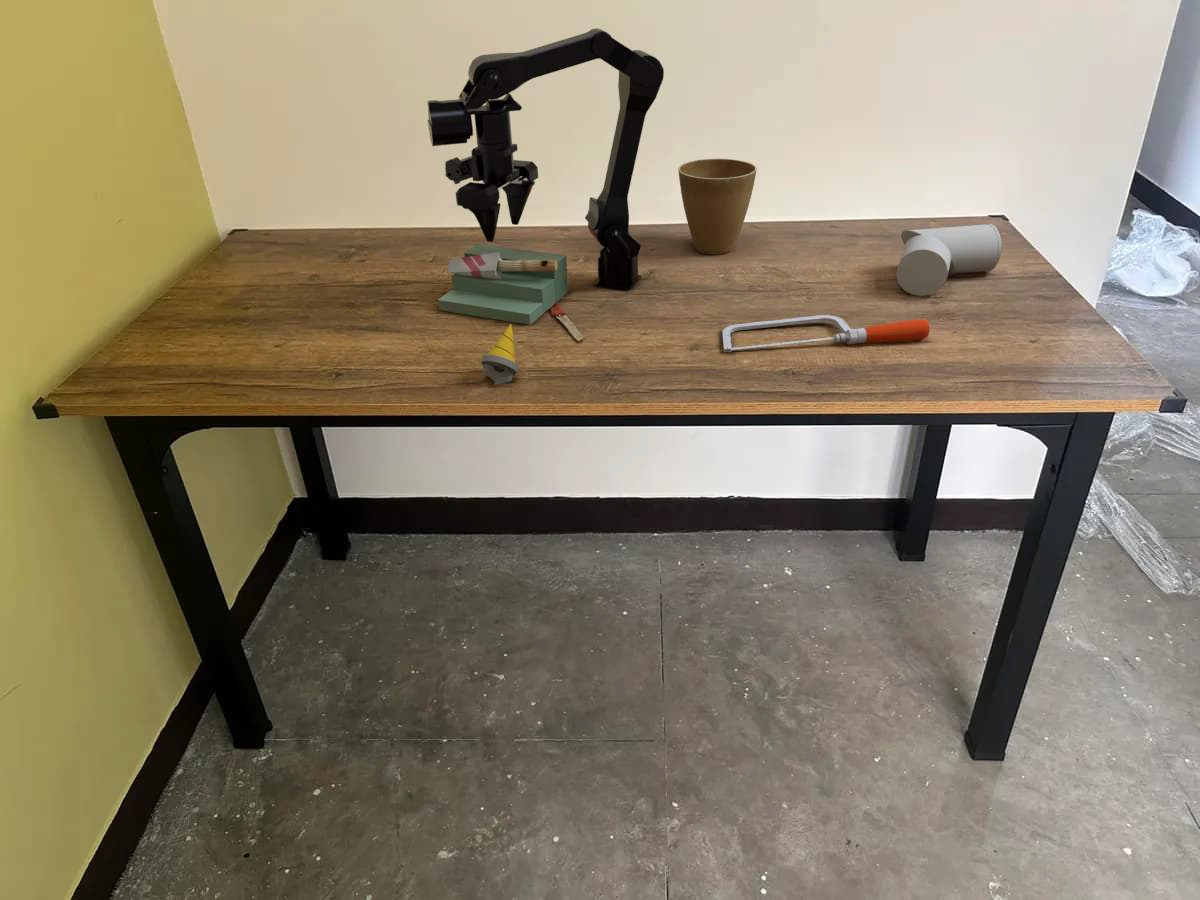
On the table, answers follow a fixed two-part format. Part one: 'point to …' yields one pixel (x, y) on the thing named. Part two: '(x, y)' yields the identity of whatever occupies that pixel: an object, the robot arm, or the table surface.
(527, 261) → the paintbrush
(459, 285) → the staircase
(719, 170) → the plant pot
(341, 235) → the table surface
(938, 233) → the l-shaped cylinder
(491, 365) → the yellow cone with collar
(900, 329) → the hand saw
